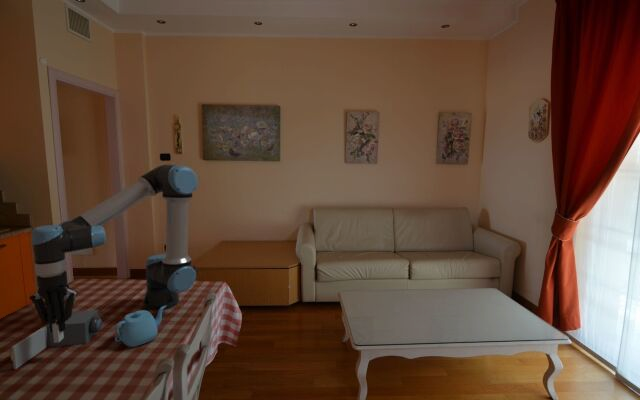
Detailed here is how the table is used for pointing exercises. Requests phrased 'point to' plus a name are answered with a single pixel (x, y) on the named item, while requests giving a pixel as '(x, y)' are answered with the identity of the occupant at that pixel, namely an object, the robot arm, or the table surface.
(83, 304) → the table surface
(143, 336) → the teapot
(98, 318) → the camera case
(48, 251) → the robot arm
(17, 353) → the side door
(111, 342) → the table surface
